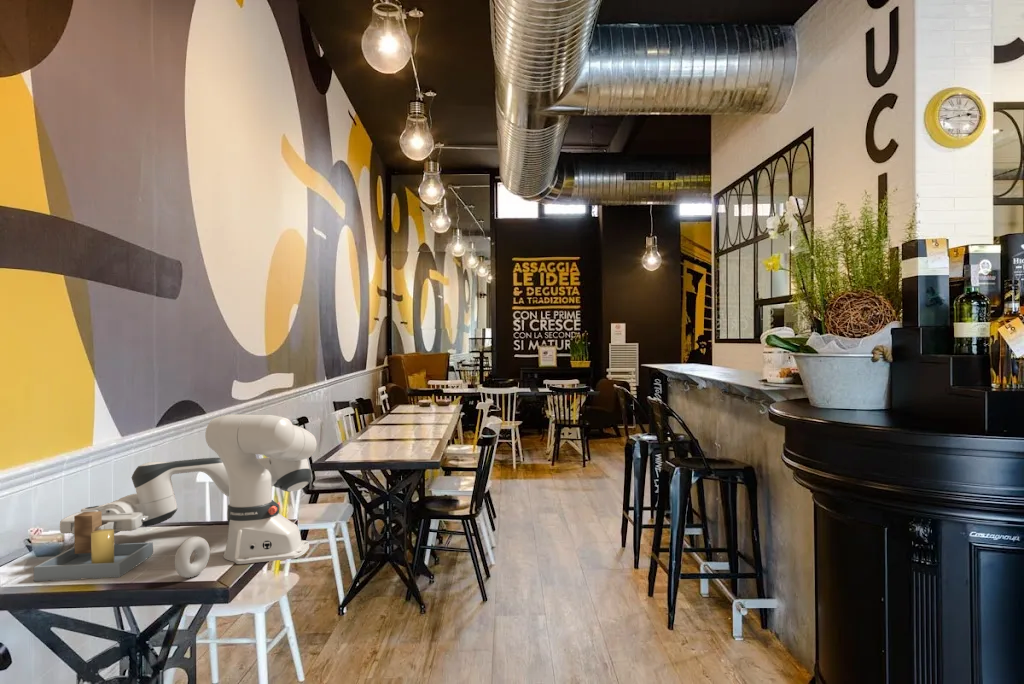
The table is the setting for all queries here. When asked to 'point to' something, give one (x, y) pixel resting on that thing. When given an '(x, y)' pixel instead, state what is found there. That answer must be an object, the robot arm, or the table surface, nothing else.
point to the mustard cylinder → (102, 546)
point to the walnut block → (85, 530)
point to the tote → (81, 566)
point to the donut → (185, 552)
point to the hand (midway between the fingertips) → (86, 530)
